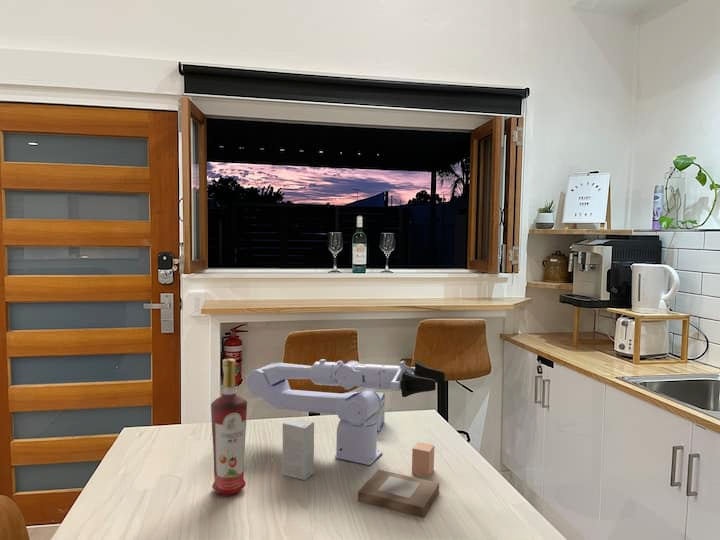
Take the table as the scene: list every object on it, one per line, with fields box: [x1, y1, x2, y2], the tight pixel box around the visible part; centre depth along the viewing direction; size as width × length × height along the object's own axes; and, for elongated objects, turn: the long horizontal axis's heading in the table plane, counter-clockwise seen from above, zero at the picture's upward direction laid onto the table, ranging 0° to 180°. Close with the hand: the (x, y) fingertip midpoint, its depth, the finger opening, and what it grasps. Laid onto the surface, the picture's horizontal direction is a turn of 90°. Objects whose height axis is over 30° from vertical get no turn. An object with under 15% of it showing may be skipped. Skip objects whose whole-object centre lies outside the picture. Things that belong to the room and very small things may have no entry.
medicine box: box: [376, 391, 386, 432], centre depth 148 cm, size 8×4×9 cm, turn 168°
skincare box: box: [282, 417, 315, 481], centre depth 117 cm, size 6×4×12 cm
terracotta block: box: [411, 441, 435, 478], centre depth 120 cm, size 4×4×6 cm
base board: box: [357, 469, 440, 518], centre depth 109 cm, size 14×11×2 cm
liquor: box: [210, 358, 248, 497], centre depth 109 cm, size 7×7×28 cm
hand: (440, 380), depth 118 cm, fingers open, 7 cm apart
